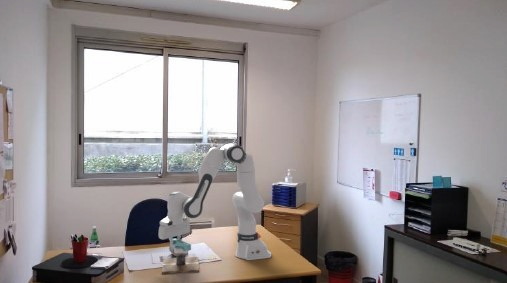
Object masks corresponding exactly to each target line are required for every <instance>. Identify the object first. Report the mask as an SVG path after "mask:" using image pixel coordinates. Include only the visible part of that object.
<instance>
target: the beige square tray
mask: <svg viewBox="0 0 507 283" xmlns="http://www.w3.org/2000/svg"><path fill="white" fill-rule="evenodd" d="M199 262H200V261H199V256H194V257H193V256H190V257H189V256H188V257H186V255H184V256H176V257H169V258H168V257H167V258H163V262H162V268H161V275H165V274H166V275H167V274H187V273H188V274H189V273H200V263H199Z"/></svg>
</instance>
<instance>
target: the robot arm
mask: <svg viewBox="0 0 507 283" xmlns="http://www.w3.org/2000/svg"><path fill="white" fill-rule="evenodd" d="M225 161H227V162H230V163H235V165H236V180H237V186H238V187H239V189H240V190H239V191H236V192H235V193H233V195H232V197H231V201H232V204H233V206H234V207H235V212H236V215H237V225H238V226H237V227H238V228H237V232H236V241H237V245H236V251H235V254H234V256H236V257H237V258H239V259H242V260H246V261H255V260H263V259H270V258H271V257H272V252H271V251H270V250H268V246H267V244H266V243H265V242H264V241H263V240H262V239H260V238H262V236H261V235H260V233H258V232H257V220H256V218H255V216H254V214H255V213H256V214H257V213H260V212H262V210H264V206H265V201H264V199H263V197H262V196H261V195H260V193H259V190H258V187H257V182H256V172H255V171H256V170H255V162H254V159H253V156H252V154H250V153H248V152H245V150H244V148H243V146H241V145H239V144H237V143H234V142H231V143H230V142H227V143H224V144H222V145H221V146H219V147H216V146H214V147H213V146H212V147H211V148H210V149H209V150H208V151H207V153H206V154H205V156H204V157H203V158H202V161H201V163H200V165H199V168H198V172H197V173H198V177H199V178H198V181H199V182H198V185H197V187H196V189H195V191H194V194H193V196H190V195H187V194H185V193H183V192H182V191H173V192H171V193H169V195H168V196H167V215H166V217H164V218H163V219H161V220H160V221H159V227H158V238H159V239H160V240H169V245H170V244H171V245H173V244H174V241H173V240H172V239H174V237H176V239H178V240H181V238H182V235H185V234H190V232H191V224H190V219H196V218H198V217H200V216H201V214H202V212H203V208H204V207H203V206H204V205H203V204H204V202H205V199H206V197H207V194H208V192H209V189H210V187H211V185H212V183H213V182H214V179H215V177H216V176H217V174H218V172H219V170H220V169H221V166H222V164H224V162H225ZM253 213H254V214H253ZM184 215H185V216H186V217H184Z"/></svg>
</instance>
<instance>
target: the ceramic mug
mask: <svg viewBox="0 0 507 283" xmlns="http://www.w3.org/2000/svg"><path fill="white" fill-rule="evenodd" d="M174 247H175V246H174V245H171V244H170V243H169V246H168V249H169V252H170V253H171V254H172V255H173V256H175V257H177V255H174Z"/></svg>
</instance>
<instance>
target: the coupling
mask: <svg viewBox="0 0 507 283" xmlns="http://www.w3.org/2000/svg"><path fill="white" fill-rule="evenodd" d="M172 240H173V241H174V244H173V245H174V246H175V247H174V255H177V256H184V255H185V256H187V255H188V254H189V251H192V243H188V242H186V241H183V240H181V239H180V240H178V239H177V237H176V238H173V239H172ZM174 255H173V256H174ZM177 256H176V257H177Z"/></svg>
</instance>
